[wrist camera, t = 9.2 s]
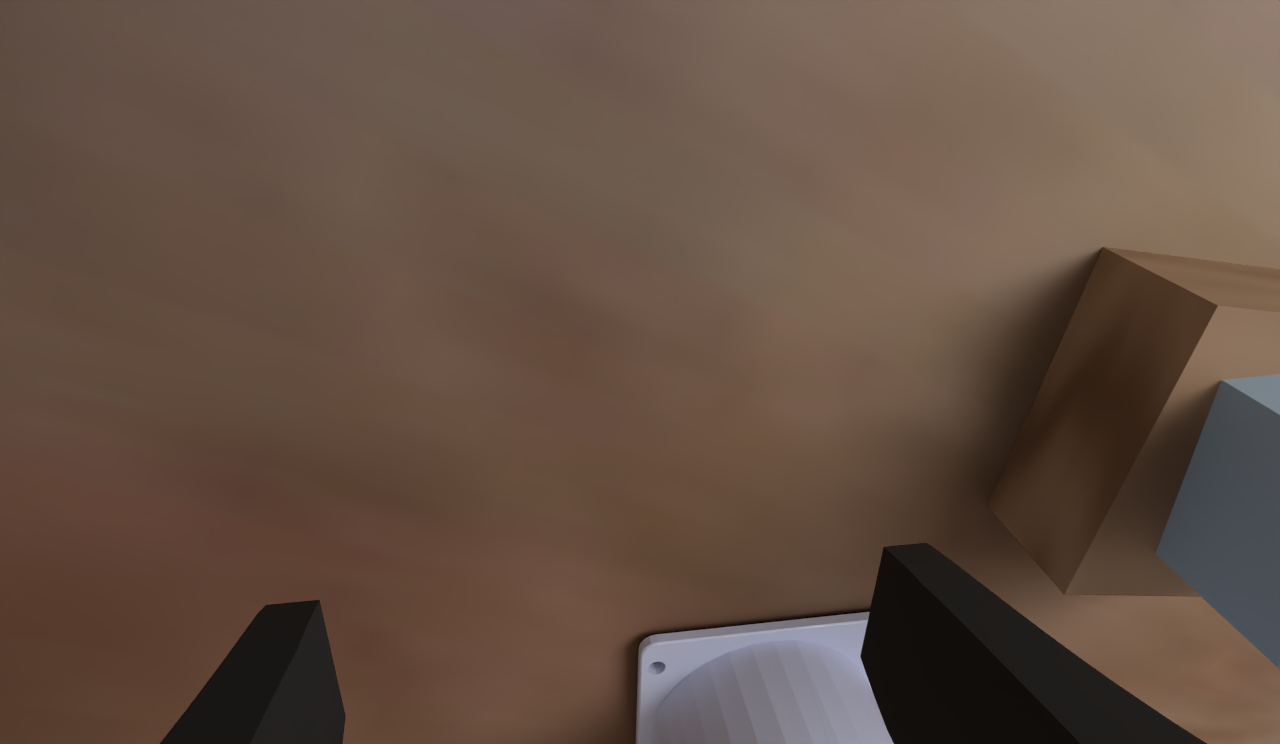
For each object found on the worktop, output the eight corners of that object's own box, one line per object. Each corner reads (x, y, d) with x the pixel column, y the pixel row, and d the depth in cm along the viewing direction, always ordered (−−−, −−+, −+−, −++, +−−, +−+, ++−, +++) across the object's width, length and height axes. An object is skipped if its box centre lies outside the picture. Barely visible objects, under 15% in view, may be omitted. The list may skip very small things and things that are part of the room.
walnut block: (1202, 508, 26) (1313, 598, 22) (981, 498, 24) (1063, 594, 20) (1341, 274, 22) (1500, 337, 19) (1094, 242, 20) (1218, 305, 17)
